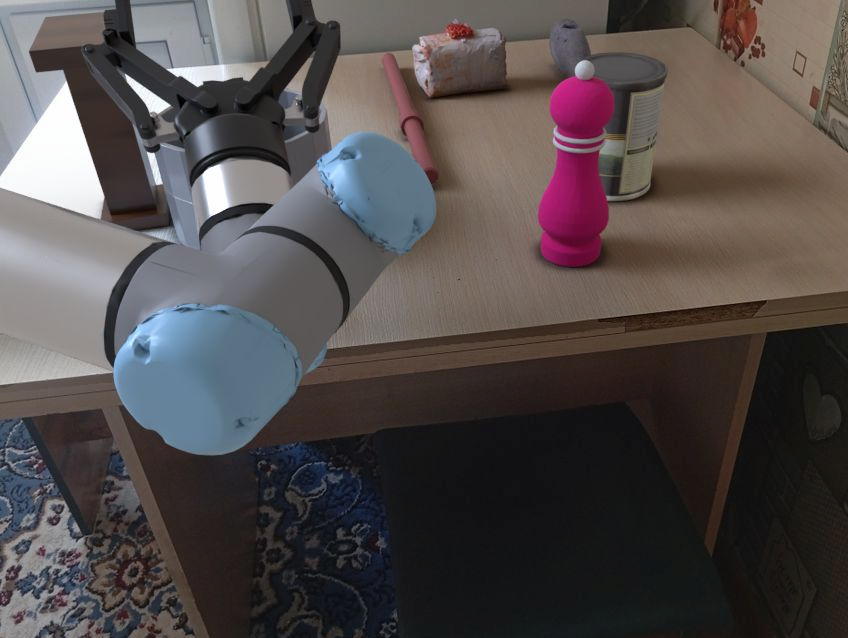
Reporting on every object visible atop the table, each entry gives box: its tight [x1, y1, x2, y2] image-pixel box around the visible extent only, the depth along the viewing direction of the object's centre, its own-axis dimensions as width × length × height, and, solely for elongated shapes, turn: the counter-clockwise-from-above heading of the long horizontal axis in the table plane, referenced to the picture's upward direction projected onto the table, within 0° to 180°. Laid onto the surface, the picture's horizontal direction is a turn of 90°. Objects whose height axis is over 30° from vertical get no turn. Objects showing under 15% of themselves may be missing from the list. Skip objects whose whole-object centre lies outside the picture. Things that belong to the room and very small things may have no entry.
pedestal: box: [28, 11, 170, 231], centre depth 84 cm, size 12×8×21 cm, turn 16°
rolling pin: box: [381, 52, 440, 185], centre depth 112 cm, size 45×3×3 cm, turn 11°
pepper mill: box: [537, 60, 614, 268], centre depth 77 cm, size 7×7×20 cm
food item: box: [411, 18, 508, 98], centre depth 120 cm, size 14×8×10 cm, turn 106°
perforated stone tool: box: [548, 18, 592, 79], centre depth 125 cm, size 15×5×7 cm, turn 6°
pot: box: [153, 88, 333, 251], centre depth 86 cm, size 18×18×12 cm
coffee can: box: [574, 51, 669, 202], centre depth 92 cm, size 10×10×14 cm
